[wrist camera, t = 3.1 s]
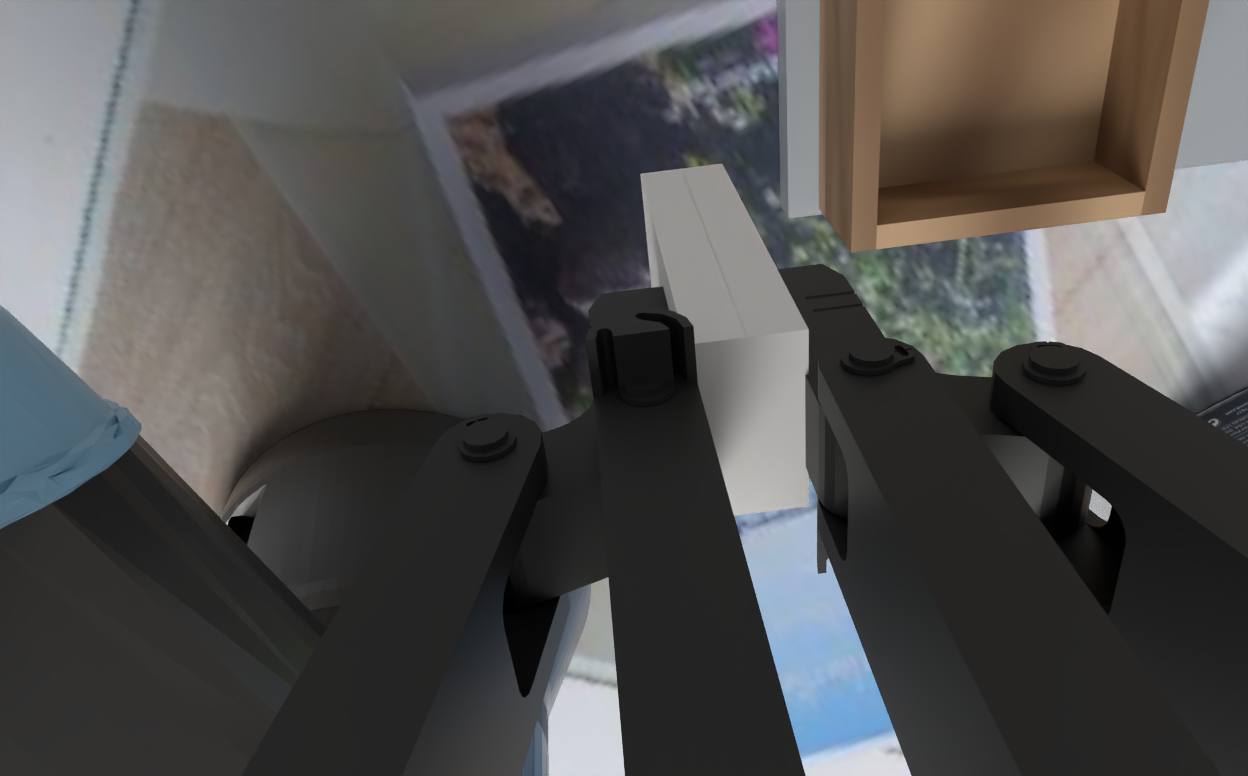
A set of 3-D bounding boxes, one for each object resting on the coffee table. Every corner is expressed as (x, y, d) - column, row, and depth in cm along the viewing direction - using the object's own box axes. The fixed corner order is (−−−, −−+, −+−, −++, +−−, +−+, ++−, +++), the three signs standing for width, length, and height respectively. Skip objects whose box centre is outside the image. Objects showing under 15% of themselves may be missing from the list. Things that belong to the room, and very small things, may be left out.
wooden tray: (819, 208, 31) (851, 252, 28) (820, -113, 26) (859, -107, 23) (1100, 172, 31) (1165, 212, 28) (1154, -155, 26) (1241, -154, 23)
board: (780, 206, 32) (818, 265, 28) (774, -121, 27) (820, -113, 22) (1405, 126, 32) (1543, 173, 28) (1517, -214, 27) (1709, -223, 23)
